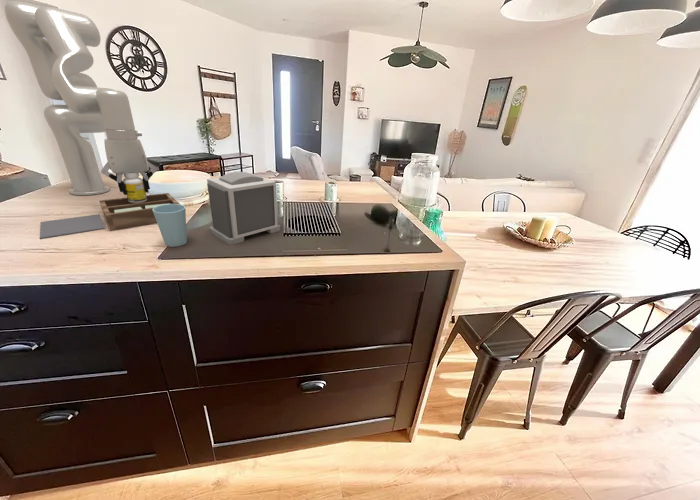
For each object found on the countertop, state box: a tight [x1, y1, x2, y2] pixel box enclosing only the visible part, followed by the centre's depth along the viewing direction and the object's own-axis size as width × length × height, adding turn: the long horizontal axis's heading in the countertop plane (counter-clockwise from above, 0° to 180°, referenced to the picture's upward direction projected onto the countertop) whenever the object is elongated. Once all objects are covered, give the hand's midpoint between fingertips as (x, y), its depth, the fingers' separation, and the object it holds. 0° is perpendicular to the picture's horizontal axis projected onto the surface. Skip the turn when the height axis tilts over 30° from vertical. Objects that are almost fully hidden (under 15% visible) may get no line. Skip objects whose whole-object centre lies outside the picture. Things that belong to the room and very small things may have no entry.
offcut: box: [114, 207, 142, 213], centre depth 93 cm, size 4×7×4 cm, turn 132°
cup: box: [152, 203, 188, 248], centre depth 81 cm, size 8×8×10 cm
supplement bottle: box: [122, 173, 147, 203], centre depth 97 cm, size 5×5×10 cm
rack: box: [99, 192, 182, 232], centre depth 97 cm, size 16×20×5 cm
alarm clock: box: [206, 171, 281, 245], centre depth 91 cm, size 18×13×18 cm
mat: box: [39, 213, 106, 240], centre depth 88 cm, size 14×14×1 cm
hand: (135, 192), depth 98 cm, fingers closed on supplement bottle, 5 cm apart
